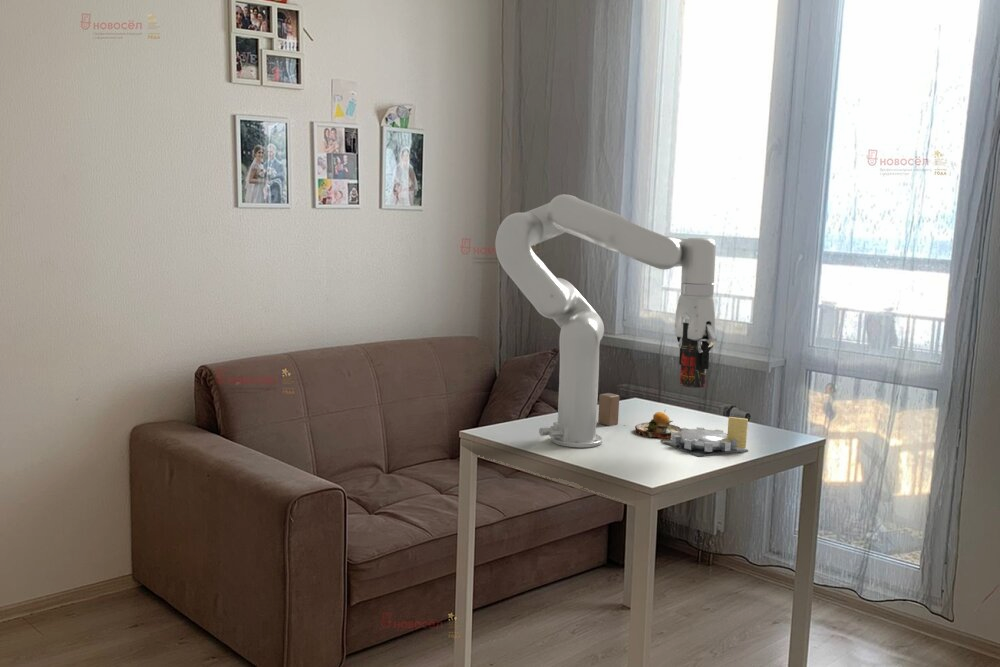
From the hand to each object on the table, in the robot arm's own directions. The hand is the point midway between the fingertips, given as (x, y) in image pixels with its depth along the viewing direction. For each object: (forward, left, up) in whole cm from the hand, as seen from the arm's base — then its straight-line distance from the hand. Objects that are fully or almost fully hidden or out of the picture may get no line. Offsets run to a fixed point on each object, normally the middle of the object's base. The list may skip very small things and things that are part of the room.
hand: (693, 366), depth 218 cm
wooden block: (-3, +31, -21) cm, 37 cm away
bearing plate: (+7, +3, -21) cm, 22 cm away
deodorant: (0, 0, -5) cm, 5 cm away
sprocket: (+7, +2, -20) cm, 21 cm away
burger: (+4, +18, -21) cm, 28 cm away
